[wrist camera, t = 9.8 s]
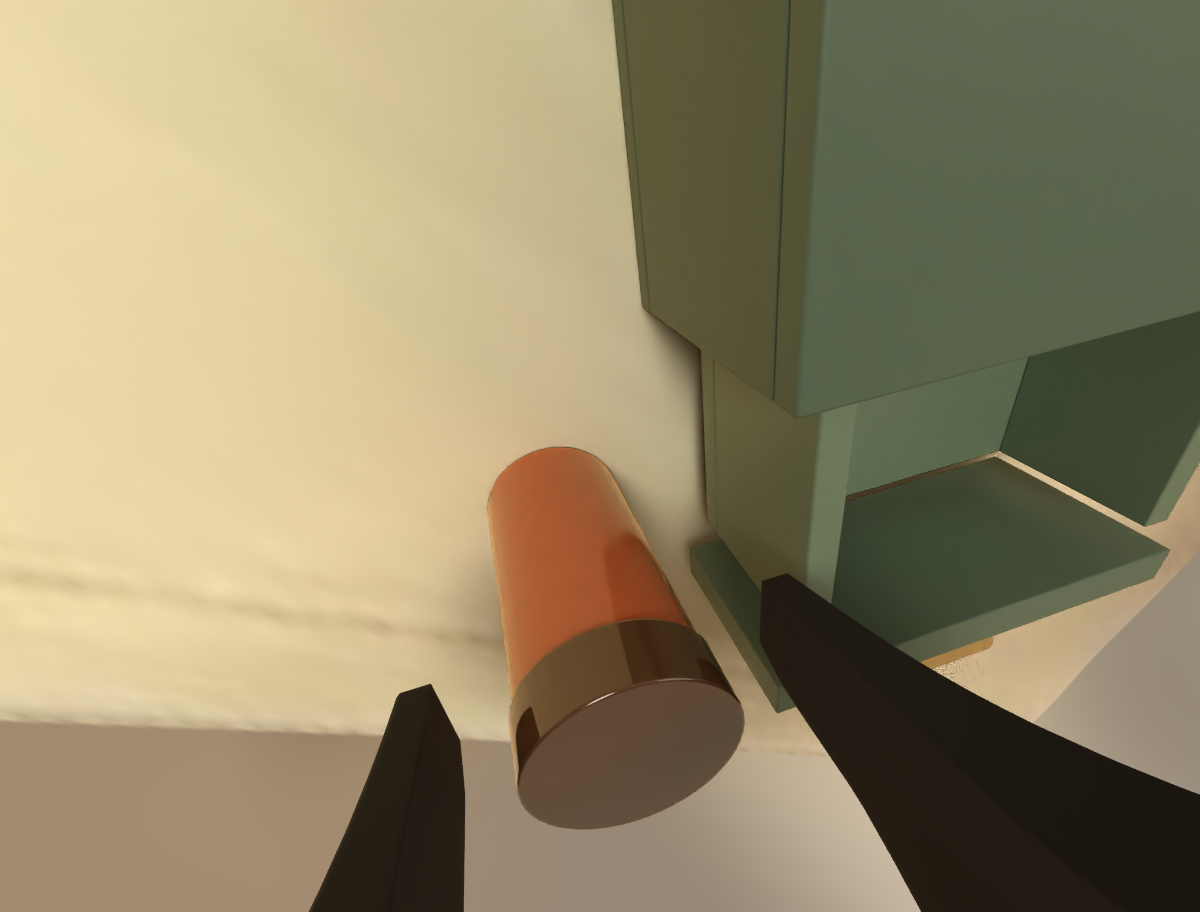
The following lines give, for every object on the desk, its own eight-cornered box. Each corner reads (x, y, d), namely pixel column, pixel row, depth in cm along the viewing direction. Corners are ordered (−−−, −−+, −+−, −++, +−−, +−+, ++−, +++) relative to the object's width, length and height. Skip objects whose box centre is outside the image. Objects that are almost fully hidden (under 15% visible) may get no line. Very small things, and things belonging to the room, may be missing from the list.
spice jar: (609, 428, 16) (746, 647, 9) (626, 536, 18) (745, 781, 11) (466, 464, 15) (488, 735, 8) (503, 572, 17) (544, 857, 10)
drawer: (965, 553, 22) (1106, 659, 18) (695, 642, 21) (771, 788, 16) (1092, 150, 14) (1412, 145, 10) (668, 235, 13) (806, 281, 8)
